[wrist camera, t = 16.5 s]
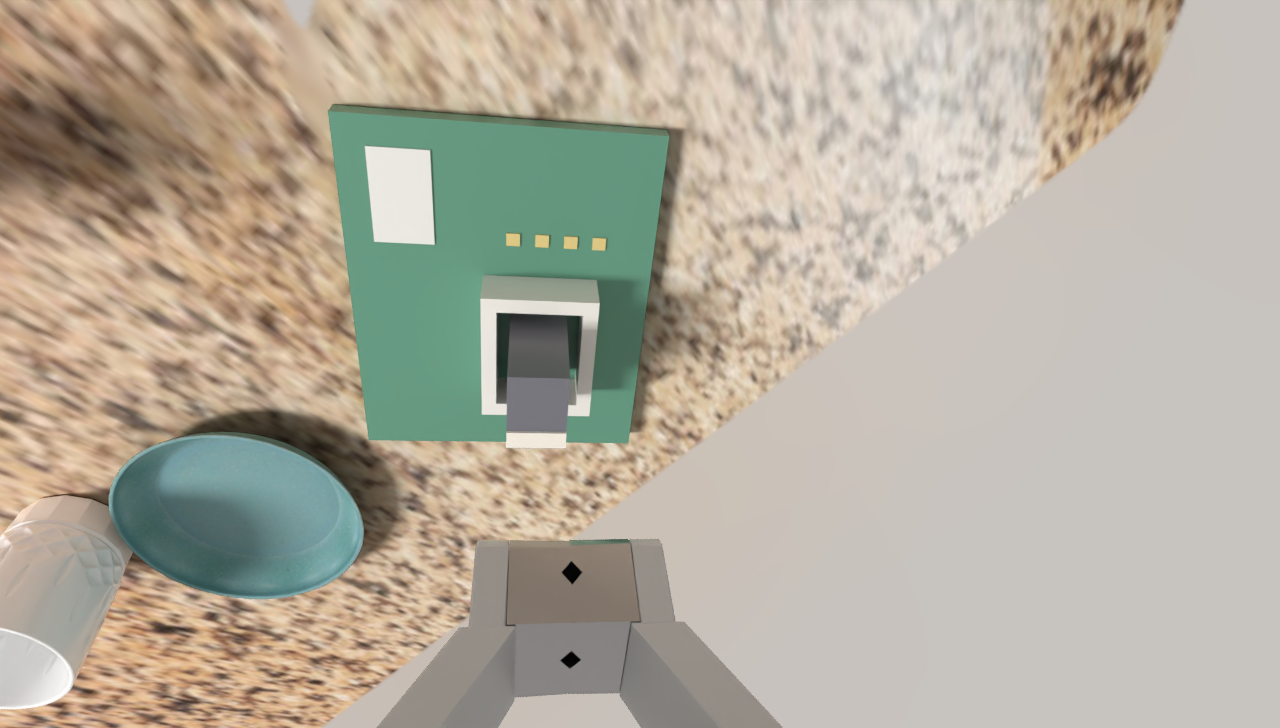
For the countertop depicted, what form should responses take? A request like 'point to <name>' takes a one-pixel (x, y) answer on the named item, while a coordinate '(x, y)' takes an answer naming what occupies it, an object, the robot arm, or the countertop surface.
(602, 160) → the board
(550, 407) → the plug
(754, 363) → the countertop surface
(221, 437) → the saucer
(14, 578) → the white cup
